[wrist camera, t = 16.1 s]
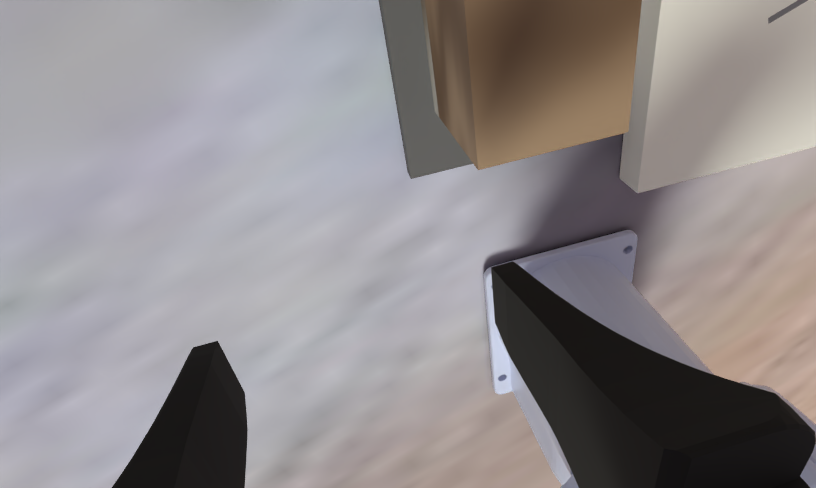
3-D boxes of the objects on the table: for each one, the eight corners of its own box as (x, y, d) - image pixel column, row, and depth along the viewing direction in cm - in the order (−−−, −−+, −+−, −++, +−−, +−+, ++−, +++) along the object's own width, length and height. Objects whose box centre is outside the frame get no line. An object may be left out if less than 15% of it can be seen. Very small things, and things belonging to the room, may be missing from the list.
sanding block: (557, 81, 21) (628, 132, 17) (434, 111, 21) (477, 170, 17) (561, -135, 17) (655, -136, 13) (407, -105, 16) (456, -96, 12)
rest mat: (577, 130, 23) (584, 135, 23) (407, 172, 22) (411, 179, 22) (594, -240, 16) (604, -243, 16) (345, -195, 15) (348, -197, 15)
